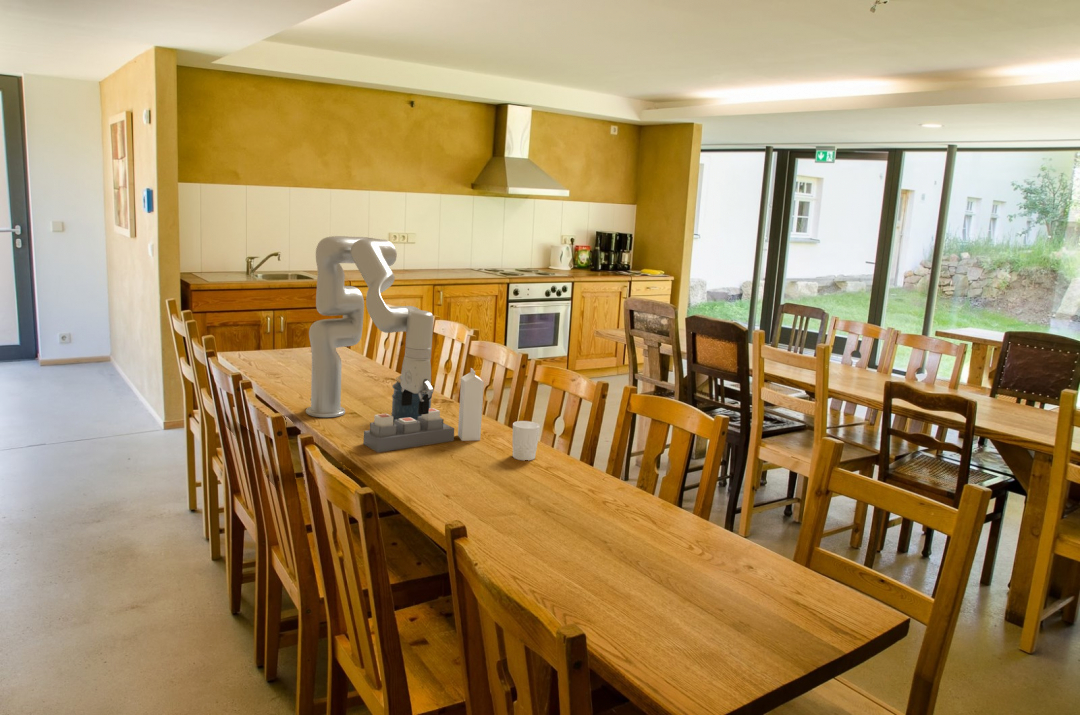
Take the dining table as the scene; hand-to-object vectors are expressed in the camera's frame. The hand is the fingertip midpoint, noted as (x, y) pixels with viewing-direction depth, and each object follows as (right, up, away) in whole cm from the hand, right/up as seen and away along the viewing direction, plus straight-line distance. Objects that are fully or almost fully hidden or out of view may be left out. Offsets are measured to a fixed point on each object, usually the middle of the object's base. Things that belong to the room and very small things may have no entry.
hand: (414, 409), depth 226 cm
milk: (+15, -10, +15) cm, 23 cm away
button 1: (-9, -5, -1) cm, 10 cm away
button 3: (+3, -4, +9) cm, 10 cm away
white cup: (+32, -14, 0) cm, 35 cm away
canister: (-6, -6, +28) cm, 30 cm away
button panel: (-3, -10, +6) cm, 12 cm away
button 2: (-3, -6, +4) cm, 8 cm away
